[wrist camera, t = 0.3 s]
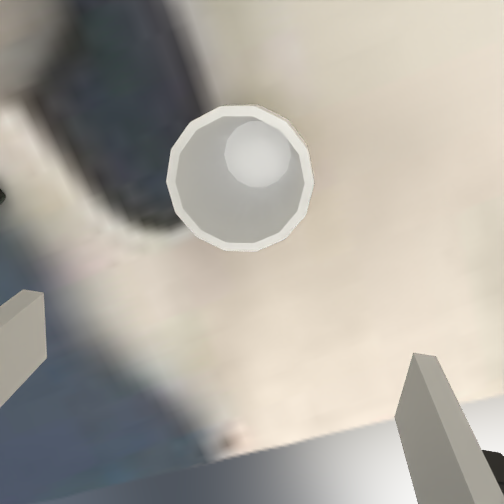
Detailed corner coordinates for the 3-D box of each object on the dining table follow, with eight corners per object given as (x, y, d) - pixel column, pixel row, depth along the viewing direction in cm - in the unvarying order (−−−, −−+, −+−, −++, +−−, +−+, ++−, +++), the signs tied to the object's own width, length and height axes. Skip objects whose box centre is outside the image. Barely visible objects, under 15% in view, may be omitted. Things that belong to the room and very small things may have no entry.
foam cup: (313, 99, 39) (317, 105, 27) (309, 204, 42) (311, 253, 30) (204, 100, 40) (160, 106, 28) (208, 203, 43) (171, 249, 31)
